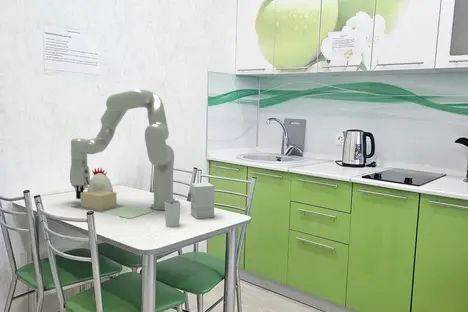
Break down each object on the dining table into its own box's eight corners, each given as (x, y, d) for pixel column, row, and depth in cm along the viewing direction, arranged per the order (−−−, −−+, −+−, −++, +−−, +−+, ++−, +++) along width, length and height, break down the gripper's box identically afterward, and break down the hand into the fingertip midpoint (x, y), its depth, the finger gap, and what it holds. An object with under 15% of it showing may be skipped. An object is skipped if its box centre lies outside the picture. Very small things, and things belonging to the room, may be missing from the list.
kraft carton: (116, 206, 204) (116, 192, 203) (101, 210, 195) (101, 196, 194) (96, 202, 210) (96, 189, 209) (80, 206, 201) (80, 192, 201)
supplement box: (208, 212, 196) (208, 182, 195) (214, 217, 188) (214, 185, 186) (190, 214, 193) (190, 183, 191) (195, 219, 185) (195, 186, 183)
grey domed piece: (89, 191, 240) (89, 166, 239) (114, 190, 243) (113, 165, 241) (85, 196, 227) (85, 169, 225) (111, 195, 229) (110, 169, 228)
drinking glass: (161, 224, 174) (161, 202, 173) (171, 221, 180) (172, 199, 179) (173, 227, 171) (173, 204, 170) (183, 224, 176) (183, 201, 175)
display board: (153, 211, 196) (153, 210, 196) (130, 219, 182) (130, 218, 182) (95, 201, 215) (95, 200, 215) (70, 207, 201) (70, 206, 201)
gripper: (95, 163, 206) (95, 199, 208) (74, 160, 213) (75, 195, 215) (83, 165, 199) (84, 201, 202) (62, 162, 206) (63, 197, 209)
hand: (79, 198), depth 208 cm, fingers closed
